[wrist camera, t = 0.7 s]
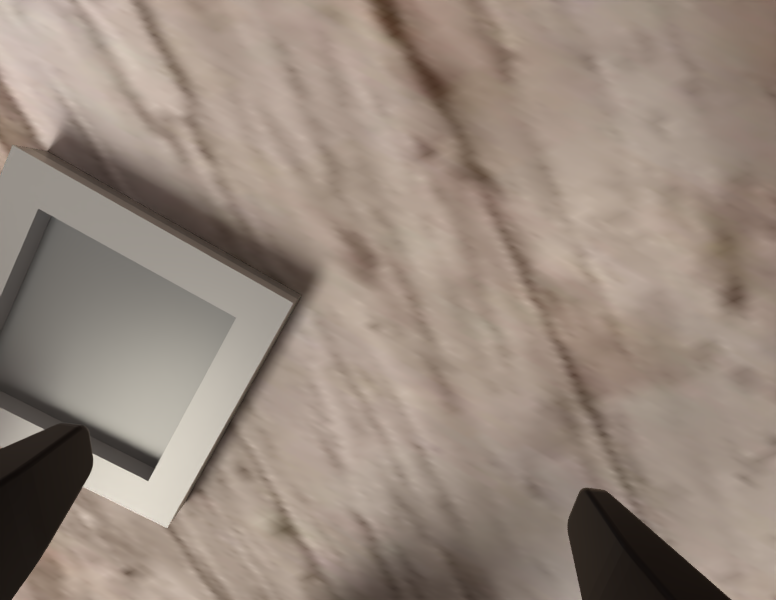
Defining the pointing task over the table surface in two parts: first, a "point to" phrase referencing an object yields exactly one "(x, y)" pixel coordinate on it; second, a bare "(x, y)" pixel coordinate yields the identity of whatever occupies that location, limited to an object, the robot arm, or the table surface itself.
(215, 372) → the tray
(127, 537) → the table surface
